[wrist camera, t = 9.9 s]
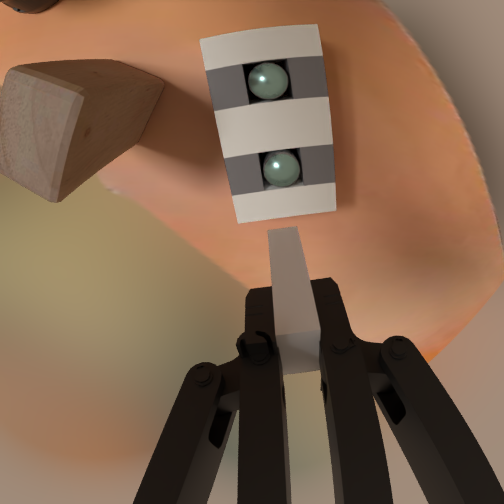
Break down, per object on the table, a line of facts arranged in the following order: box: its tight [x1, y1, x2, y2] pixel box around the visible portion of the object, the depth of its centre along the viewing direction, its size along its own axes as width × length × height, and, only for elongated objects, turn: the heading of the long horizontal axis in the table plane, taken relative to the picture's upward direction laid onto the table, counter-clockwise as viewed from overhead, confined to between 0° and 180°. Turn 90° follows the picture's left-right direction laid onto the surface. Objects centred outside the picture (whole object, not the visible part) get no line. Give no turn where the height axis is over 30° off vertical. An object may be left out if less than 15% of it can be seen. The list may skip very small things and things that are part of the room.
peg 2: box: [262, 148, 300, 187], centre depth 33 cm, size 4×4×7 cm
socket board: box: [199, 24, 336, 224], centre depth 31 cm, size 22×12×7 cm, turn 9°
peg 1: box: [248, 63, 288, 99], centre depth 28 cm, size 4×4×7 cm
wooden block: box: [0, 59, 164, 203], centre depth 23 cm, size 10×10×20 cm
